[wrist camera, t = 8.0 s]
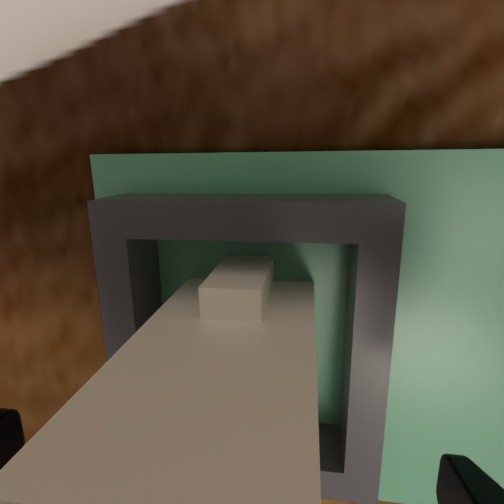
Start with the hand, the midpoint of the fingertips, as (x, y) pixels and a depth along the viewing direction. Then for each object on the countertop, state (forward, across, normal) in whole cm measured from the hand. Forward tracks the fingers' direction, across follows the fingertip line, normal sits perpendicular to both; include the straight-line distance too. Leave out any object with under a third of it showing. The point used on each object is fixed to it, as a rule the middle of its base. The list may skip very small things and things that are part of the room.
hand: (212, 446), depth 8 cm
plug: (+5, 0, +1) cm, 5 cm away
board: (+6, -4, 0) cm, 7 cm away
